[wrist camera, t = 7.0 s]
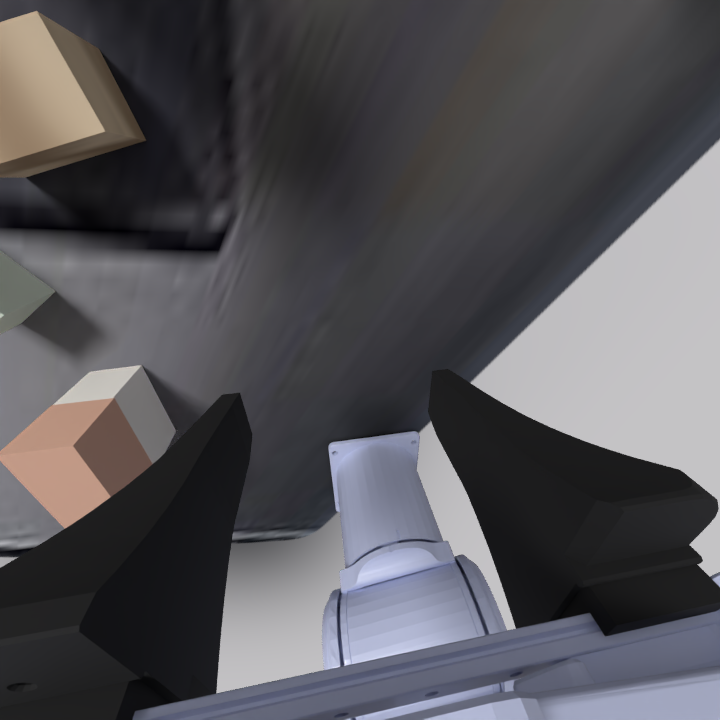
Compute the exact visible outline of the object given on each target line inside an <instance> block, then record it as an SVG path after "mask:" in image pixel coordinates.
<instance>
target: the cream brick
mask: <svg viewBox="0 0 720 720" xmlns="http://www.w3.org/2000/svg"><path fill="white" fill-rule="evenodd" d="M110 398H115V400H116V402H117V403H118V405H119V407H120V409H121V410H122V412H123V414H124V416H125V417H126V419H127V421H128V423H129V424H130V426H131V428H132V429H133V431H134V433H135V435H136V436H137V438H138V440H139V442H140V443H141V445H142V447H143V448H144V450H145V452H146V454H147V455H148V457H149V459H150V461H151V462H152V464H153V463H154V462H156V461H157V460H158V459H159V458H160V457H161V456H162V455H163V454H164V453H165V452H166V450H167V448H168V446H169V444H170V442H171V440H172V438H173V436H174V434H175V433H176V430H175V428H174V426H173V424H172V422H171V420H170V418H169V416H168V415H167V413H166V411H165V409H164V407H163V405H162V403H161V401H160V399H159V397H158V396H157V394H156V392H155V390H154V388H153V386H152V384H151V382H150V380H149V378H148V376H147V375H146V373H145V371H144V369H143V367H142V365H139V366H131V367H124V368H116V369H108V370H100V371H92V372H89V373H88V374H87V375H86V376H85V377H84V378H82V379H81V380H80V381H79V382H78V383H77V384H76V385H75V386H74V387H72V388H71V389H70V390H69V391H68V392H67V393H66V394H65V395H64V396H62V397H61V398H60V399H59V400H58V401H57V402H56V403H55V404H54V405H58V404H66V403H75V402H84V401H93V400H101V399H110Z"/></svg>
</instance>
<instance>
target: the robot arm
mask: <svg viewBox="0 0 720 720" xmlns="http://www.w3.org/2000/svg"><path fill="white" fill-rule="evenodd" d="M428 413H429V416H430V419H431V421H432V424H433V427H434V429H435V432H436V435H437V437H438V439H439V441H440V442H441V444H442V446H443V448H444V450H445V452H446V454H447V456H448V457H449V459H450V461H451V463H452V465H453V467H454V469H455V471H456V472H457V474H458V476H459V478H460V480H461V482H462V484H463V486H464V488H465V490H466V492H467V494H468V497H469V499H470V501H471V504H472V506H473V509H474V511H475V514H476V516H477V519H478V521H479V524H480V526H481V529H482V531H483V534H484V537H485V539H486V542H487V544H488V547H489V549H490V553H491V555H492V558H493V561H494V564H495V567H496V569H497V572H498V575H499V578H500V581H501V583H502V587H503V589H504V592H505V596H506V599H507V602H508V605H509V608H510V611H511V614H512V617H513V620H514V623H515V627H516V629H513V630H508V631H507V629H506V626H505V624H504V621H503V618H502V616H501V613H500V611H499V609H498V606H497V604H496V601H495V599H494V597H493V594H492V592H491V590H490V588H489V586H488V584H487V582H486V580H485V578H484V576H483V574H482V573H481V571H480V569H479V568H478V566H477V565H476V564H475V563H474V562H472V561H471V560H469V559H468V558H467V557H466V556H464V555H458V556H455V558H454V555H453V553H452V550H451V547H450V545H449V543H448V541H443V539H442V536H441V534H440V531H439V528H438V526H437V523H436V521H435V518H434V515H433V512H432V510H431V507H430V505H429V502H428V499H427V496H426V494H425V491H424V489H423V486H422V483H421V480H420V478H419V475H418V472H417V460H418V450H419V439H420V436H419V434H418V432H416V431H412V432H405V433H398V434H390V435H383V436H375V437H368V438H361V439H353V440H346V441H338V442H332V443H330V444H329V447H328V448H329V456H330V465H331V473H332V481H333V489H334V497H335V505H336V510H337V511H338V512H340V517H341V527H342V538H343V548H344V558H345V568H346V569H343V570H340V584H341V588H340V589H337V590H334V591H333V592H332V593H331V595H330V598H329V601H328V602H327V605H326V606H325V610H324V615H323V625H322V643H323V644H322V646H323V662H324V670H323V671H318V672H314V673H309V674H305V675H300V676H296V677H291V678H286V679H282V680H277V681H272V682H268V683H263V684H258V685H254V686H249V687H244V688H240V689H235V690H231V691H226V692H221V693H217V694H216V690H217V675H218V662H219V650H220V637H221V627H222V616H223V606H224V596H225V588H226V580H227V571H228V563H229V555H230V549H231V541H232V534H233V529H234V524H235V519H236V515H237V511H238V507H239V502H240V498H241V494H242V490H243V486H244V482H245V478H246V473H247V469H248V465H249V460H250V452H251V442H252V432H251V429H250V425H249V422H248V419H247V415H246V412H245V409H244V405H243V402H242V399H241V395H240V393H234V394H225V395H222V396H221V397H220V398H219V399H218V400H217V401H216V402H215V403H214V404H213V405H212V406H211V407H210V408H209V409H208V410H207V411H206V412H205V413H204V415H203V416H202V417H201V418H200V419H199V420H198V421H197V422H196V423H195V424H194V425H193V426H192V427H191V428H190V429H189V430H188V431H187V432H186V433H185V434H184V435H183V436H182V437H181V438H180V439H179V440H178V441H177V442H176V443H175V444H174V445H173V446H172V447H171V448H170V449H169V450H167V451H166V452H165V453H164V454H163V455H162V456H161V457H160V458H159V459H158V460H157V461H156V462H154V463H153V464H152V465H151V466H150V467H149V468H147V469H146V470H145V471H144V472H143V473H141V474H140V475H139V476H138V477H136V478H135V479H134V480H133V481H131V482H130V483H129V484H128V485H126V486H125V487H124V488H122V489H121V490H120V491H118V492H117V493H116V494H114V495H113V496H111V497H110V498H109V499H107V500H106V501H105V502H103V503H102V504H100V505H99V506H98V507H96V508H95V509H94V510H92V511H91V512H89V513H88V514H86V515H85V516H84V517H82V518H81V519H79V520H77V521H76V522H74V523H73V524H71V525H70V526H68V527H67V528H65V529H64V530H62V531H61V532H59V533H58V534H56V535H54V536H53V537H51V538H50V539H48V540H47V541H45V542H43V543H42V544H40V545H38V546H37V547H35V548H34V549H32V550H30V551H29V552H27V553H25V554H24V555H22V556H20V557H18V558H17V559H15V560H13V561H11V562H10V563H8V564H6V565H5V566H3V567H1V568H0V720H720V572H719V573H717V574H714V575H712V576H711V577H709V576H708V575H707V574H706V573H705V572H704V571H703V570H702V569H701V568H700V567H699V566H698V565H697V564H699V563H701V562H702V561H703V560H702V557H701V556H700V555H699V554H698V553H697V552H696V551H695V550H694V549H693V548H692V547H691V546H689V544H690V543H691V542H692V541H693V540H694V539H695V538H696V537H697V536H698V535H699V534H700V533H701V532H702V531H703V530H704V529H705V528H706V527H707V526H708V525H709V524H710V523H711V521H712V520H713V519H714V518H715V516H716V514H717V512H718V502H717V499H715V497H713V496H712V495H711V494H710V493H708V492H707V491H705V489H703V488H702V487H701V486H700V485H698V484H697V483H696V482H695V481H693V480H692V479H691V478H690V477H688V476H687V475H686V474H685V473H683V472H682V471H680V470H678V469H674V468H671V467H666V466H663V465H659V464H656V463H652V462H649V461H645V460H641V459H637V458H634V457H630V456H627V455H624V454H620V453H617V452H614V451H611V450H608V449H605V448H602V447H599V446H596V445H594V444H591V443H588V442H585V441H582V440H580V439H577V438H575V437H572V436H570V435H567V434H565V433H562V432H560V431H557V430H555V429H553V428H550V427H548V426H546V425H544V424H542V423H539V422H537V421H535V420H533V419H531V418H529V417H527V416H525V415H523V414H521V413H519V412H517V411H516V410H514V409H512V408H510V407H508V406H506V405H505V404H503V403H501V402H500V401H498V400H496V399H494V398H493V397H491V396H490V395H488V394H486V393H484V392H483V391H481V390H480V389H478V388H477V387H475V386H474V385H472V384H471V383H469V382H468V381H466V380H464V379H463V378H461V377H460V376H458V375H457V374H455V373H453V372H452V371H450V370H448V369H445V370H437V371H432V381H431V390H430V399H429V408H428ZM413 440H414V441H413ZM334 451H336V452H334Z"/></svg>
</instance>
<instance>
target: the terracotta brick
mask: <svg viewBox="0 0 720 720" xmlns="http://www.w3.org/2000/svg"><path fill="white" fill-rule="evenodd" d="M0 461H1V462H2V463H3V464H4V465H5V466H6V467H7V468H8V470H9V471H10V472H11V473H12V474H13V475H14V476H15V477H16V478H17V479H18V480H19V481H20V482H21V483H22V484H23V485H24V486H25V487H26V488H27V489H28V490H29V492H30V493H31V494H32V495H33V496H34V497H35V498H36V499H37V500H38V501H39V502H40V503H41V504H42V505H43V506H44V507H45V508H46V509H47V510H48V511H49V512H50V514H51V515H52V516H53V517H54V518H55V519H56V520H57V521H58V522H59V523H60V524H61V525H62V526H63V527H64V528H67V527H68V526H70V525H71V524H73V523H74V522H76V521H77V520H79V519H81V518H82V517H84V516H85V515H86V514H88V513H89V512H91V511H92V510H94V509H95V508H96V507H98V506H99V505H100V504H102V503H103V502H105V501H106V500H107V499H109V498H110V497H111V496H113V495H114V494H116V493H117V492H118V491H120V490H121V489H122V488H124V487H125V486H126V485H128V484H129V483H130V482H131V481H133V480H134V479H135V478H136V477H138V476H139V475H140V474H141V473H143V472H144V471H145V470H146V469H147V468H149V467H150V466H151V465H152V462H151V461H150V459H149V457H148V455H147V454H146V452H145V450H144V448H143V447H142V445H141V443H140V442H139V440H138V438H137V436H136V435H135V433H134V431H133V429H132V428H131V426H130V424H129V423H128V421H127V419H126V417H125V416H124V414H123V412H122V410H121V409H120V407H119V405H118V403H117V402H116V400H115V398H110V399H101V400H93V401H84V402H75V403H66V404H58V405H51V406H50V407H49V408H48V409H47V410H46V411H45V412H44V413H43V414H41V415H40V416H39V417H38V418H37V419H36V420H35V421H34V422H33V423H31V424H30V425H29V426H28V427H27V428H26V429H25V430H24V431H22V432H21V433H20V434H19V435H18V436H17V437H16V438H15V439H14V440H12V441H11V442H10V443H9V444H8V445H7V446H6V447H5V448H4V449H2V450H1V451H0Z"/></svg>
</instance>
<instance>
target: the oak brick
mask: <svg viewBox="0 0 720 720" xmlns="http://www.w3.org/2000/svg"><path fill="white" fill-rule="evenodd" d="M143 141H146V139H145V137H144V135H143V133H142V131H141V129H140V127H139V125H138V123H137V121H136V120H135V118H134V116H133V114H132V112H131V110H130V108H129V106H128V104H127V102H126V100H125V98H124V96H123V94H122V93H121V91H120V89H119V87H118V85H117V83H116V81H115V79H114V77H113V75H112V73H111V71H110V69H109V67H108V66H107V64H106V62H105V60H104V58H103V56H102V54H101V52H100V50H99V49H98V48H96V47H95V46H93V45H91V44H90V43H88V42H87V41H85V40H83V39H82V38H80V37H78V36H77V35H75V34H73V33H72V32H70V31H69V30H67V29H65V28H64V27H62V26H60V25H59V24H57V23H55V22H54V21H52V20H51V19H49V18H47V17H46V16H44V15H42V14H41V13H39V12H37V11H35V12H32V13H29V14H25V15H22V16H19V17H16V18H12V19H9V20H6V21H3V22H0V177H29V176H32V175H35V174H38V173H42V172H45V171H48V170H51V169H55V168H58V167H61V166H65V165H68V164H71V163H74V162H78V161H81V160H84V159H88V158H91V157H94V156H97V155H101V154H104V153H107V152H110V151H114V150H117V149H120V148H124V147H127V146H130V145H133V144H137V143H140V142H143Z"/></svg>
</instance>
